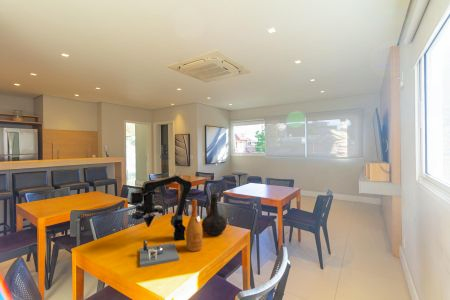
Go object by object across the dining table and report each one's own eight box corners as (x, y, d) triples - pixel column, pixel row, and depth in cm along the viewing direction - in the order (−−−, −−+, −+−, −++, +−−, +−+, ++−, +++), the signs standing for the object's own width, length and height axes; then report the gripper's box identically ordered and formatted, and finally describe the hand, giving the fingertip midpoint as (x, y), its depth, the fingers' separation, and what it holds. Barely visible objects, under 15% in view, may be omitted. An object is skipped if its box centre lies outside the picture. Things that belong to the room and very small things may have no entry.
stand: (173, 245, 141) (173, 234, 141) (179, 260, 122) (179, 247, 122) (139, 250, 133) (139, 238, 133) (140, 267, 115) (140, 253, 115)
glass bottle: (211, 240, 148) (211, 198, 148) (197, 232, 162) (196, 193, 162) (231, 233, 159) (231, 194, 159) (216, 226, 173) (216, 190, 173)
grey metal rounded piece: (145, 249, 131) (145, 239, 131) (164, 250, 130) (164, 239, 130) (138, 257, 122) (138, 245, 122) (158, 258, 121) (158, 246, 121)
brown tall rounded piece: (189, 253, 130) (189, 202, 129) (184, 246, 138) (184, 198, 138) (204, 250, 134) (204, 200, 134) (199, 243, 143) (198, 196, 142)
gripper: (153, 197, 152) (153, 220, 152) (127, 202, 137) (127, 228, 138) (163, 199, 145) (163, 223, 145) (136, 205, 130) (136, 232, 131)
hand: (148, 226), depth 140 cm, fingers closed
